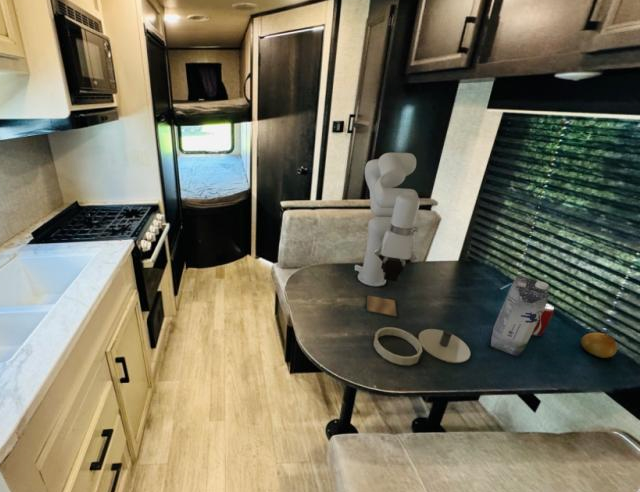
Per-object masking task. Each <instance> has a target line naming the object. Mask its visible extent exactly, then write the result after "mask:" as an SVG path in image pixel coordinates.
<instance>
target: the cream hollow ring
mask: <svg viewBox="0 0 640 492" xmlns="http://www.w3.org/2000/svg"><path fill="white" fill-rule="evenodd" d="M383 336H394V337H398V338H401V339H403V340H405V341H407V342H408V343H409V344H411V346H413V347H414V349H415V350H416V354H414V355H411V356H402V355H399V354H395V353H393V352H391V351H390V350H388V349H386V348H385V347H384V346H382V345H381V343H380V342H379V338H381V337H383ZM373 347H374V349H375V351H376V353H378V354H379V355H380V356H381V357H382V358H383V359H385V360H387V361H388V362H390V363H392V364H396V365H400V366H412V365H414V364H417V363H418V362H419V360H420V359H421V356H422V353H423V347H422V345H421V344H420V342H419V340H418V337H416V336H415V335H413V334H412V333H411V332H409V331H406V330H404V329H402V328H398V327H390V326H387V327H386V326H385V327H381V328H379V329H378V330H377V331H376V332H375V333H374V338H373Z"/></svg>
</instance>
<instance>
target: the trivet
mask: <svg viewBox="0 0 640 492" xmlns="http://www.w3.org/2000/svg"><path fill="white" fill-rule="evenodd" d="M366 311H368V312H372V313H377V314H383V315H389V316H393V317H397V307H396V300H394V299H389V298H385V297H384V298H383V297H379V296H373V295H368V294H367V295H366Z"/></svg>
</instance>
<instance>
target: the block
mask: <svg viewBox="0 0 640 492" xmlns="http://www.w3.org/2000/svg"><path fill="white" fill-rule="evenodd" d="M400 267H401V259H399V258H392V257H388V259H387V265H386V270H385V272H384V273H383V276H384V280H386V281H390V282H391V281H392V282H398V278H399V276H400V275H399V271H400Z"/></svg>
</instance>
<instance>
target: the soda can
mask: <svg viewBox="0 0 640 492" xmlns="http://www.w3.org/2000/svg"><path fill="white" fill-rule="evenodd" d="M554 313H555V307H554V306H553V305H552V304H550V303H548V302H547V304H546V306H545V308H544V311H543V313H542V315H541V317H540V319H539V321H538V323H537V325H536V327H535V329H534V331H533V333H532V335H531V336H534V337H541V336H543V334H544V332H545V330H546V329H547V327H548V325H549V323H550V320H551V319H552V317H553V315H554Z"/></svg>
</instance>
